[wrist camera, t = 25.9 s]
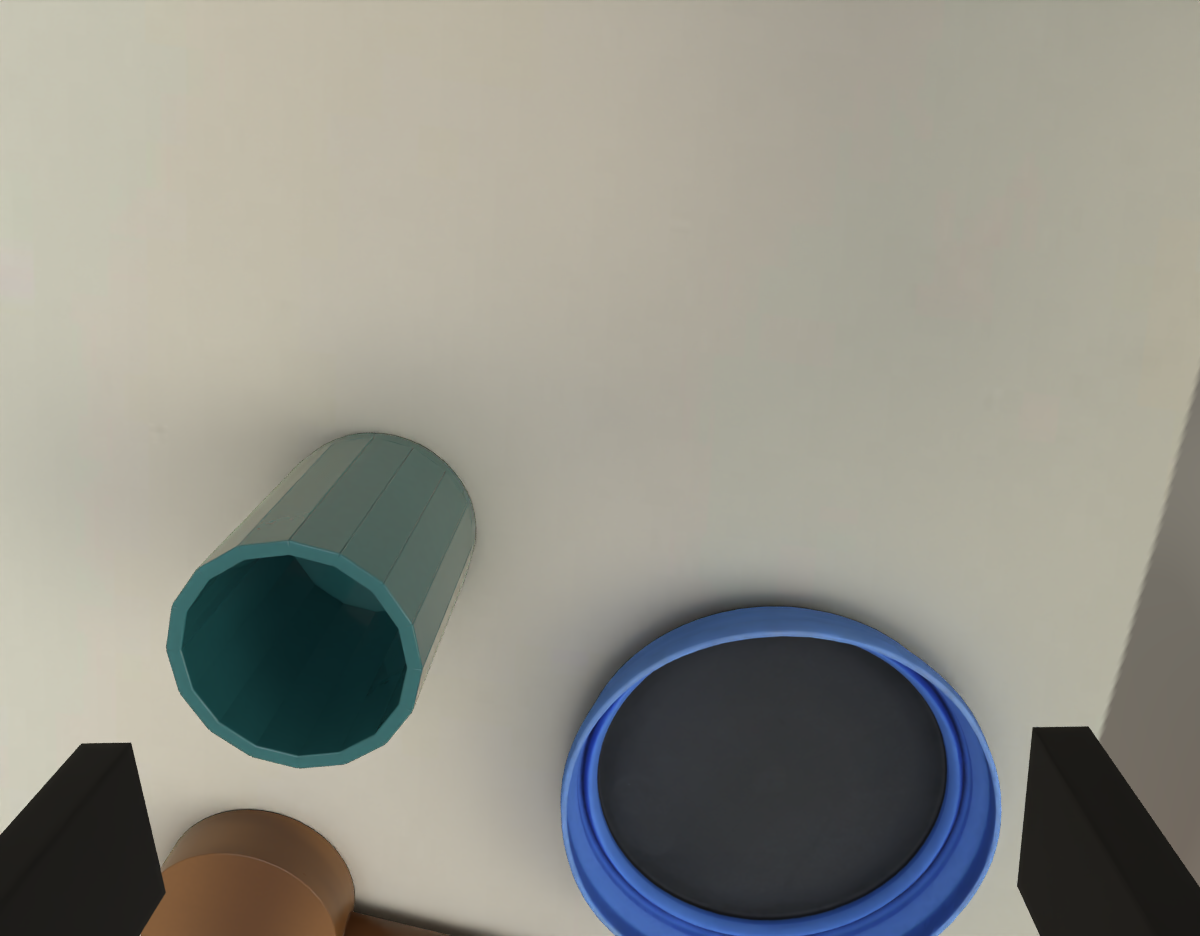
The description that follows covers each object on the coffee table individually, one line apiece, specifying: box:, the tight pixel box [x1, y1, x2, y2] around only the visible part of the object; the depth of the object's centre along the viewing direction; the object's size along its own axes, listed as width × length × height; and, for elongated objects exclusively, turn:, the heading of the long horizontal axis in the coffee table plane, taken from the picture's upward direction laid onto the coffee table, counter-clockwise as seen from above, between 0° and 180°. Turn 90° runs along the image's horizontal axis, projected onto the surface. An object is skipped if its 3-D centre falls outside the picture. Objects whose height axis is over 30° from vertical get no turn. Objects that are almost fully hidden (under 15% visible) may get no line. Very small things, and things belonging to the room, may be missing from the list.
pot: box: [166, 433, 476, 768], centre depth 38 cm, size 8×8×11 cm
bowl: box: [561, 606, 1001, 936], centre depth 45 cm, size 18×18×4 cm
